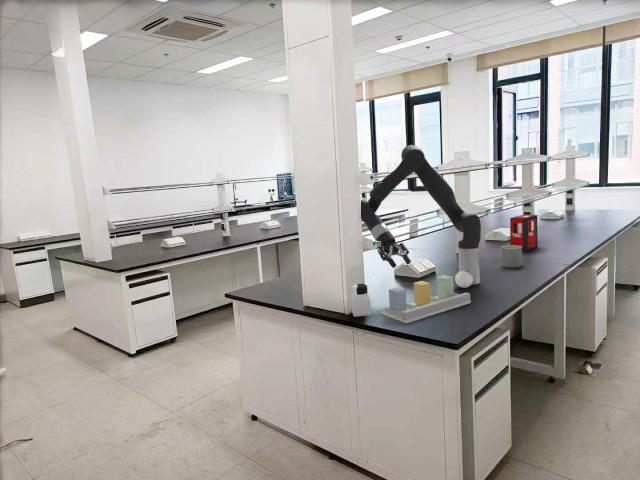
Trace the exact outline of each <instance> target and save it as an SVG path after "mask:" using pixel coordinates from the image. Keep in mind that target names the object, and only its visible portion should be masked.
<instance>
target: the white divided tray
mask: <svg viewBox="0 0 640 480" xmlns="http://www.w3.org/2000/svg"><path fill="white" fill-rule="evenodd" d="M406 303H407V310H406V311H402V312H400V311H397V310H394V309H391V308H390V307H387V306H385V307H384V311H382V312H381V313H382V315H383V316H385V317H387V318H391V319H393V320H395V321H399V322H401V323H404V324H408V323H411V322H416V321H418V320H421V319H424V318H427V317H431V316H435V315H436V314H437V315H438V314H440V313H443V312H446V311H449V310H452V309H456V308H459V307H462V306H465V305H469V304H471V303H472V301H471V293H469V292H464V293H463V292H462V293H460V294H459V293H456V292H454V296H453V297H449V298H446V299H441V298H438V297H437V295H436V296H432V295H431V303H429V304H426V305H423V306H419V305H416V304H414V302H412V303H410V302H407V301H406Z"/></svg>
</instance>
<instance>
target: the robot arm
mask: <svg viewBox="0 0 640 480" xmlns="http://www.w3.org/2000/svg"><path fill="white" fill-rule="evenodd" d="M400 158H401V162H400V163H399V165H398V166H397V167H395V169H394V170H393V171H392V172H390V173H389V174H387V175H386V176H385V177H384V178H382V179H383V180H382V179H381V180H382V181H381V180H379V182H382V183H379V182H378V183H377V184H376V185H375V186H374V187H373V188H372V189H371V190H370V191H369V199H368V200H364V199H361V219H362V220H361V219H360V220H361V221H362V222H363V223H364V224H365V225H366V228H367V229H368V230H369V232H370V233H371V236H372V237H373V239H374V240H375V241H376V240H377V241H381V244H380V245H381V246H379V247H380V248H379V247H378V248H377V253H378V255H379V257H380V258H381V261H383V262H388V264H389V265H390V266H391V268H393V269H395V268H396V267H397V264H396V262H395V261H394V259H393V256H397V257H401V258H402V259H403V261H404V262H405V264H406V265H410V264H411V262H412V261H411V260H412V259H410V258H409V255H408V254H410V251H409V249H408V248H407V246H406V245H405V244H404V243H403V242H400V243H399V244H398V243H397V242H396V238H395V236H394V235H393V234H392V232H391V230H390V229H389V228H388V226H387V225H385V223H384V222H383V220H382V219H381V217H380V216H379V215H378V214H376V213H377V211H378V209H379V208H380V206H381V204H382V202H383V201H385V199H386V198H388V196H389V195H390V194H391V193H392V192H393V190H394V189H396V188H397V186H399V185H400V184H401V183H402V182H403V181H404V180H406V179H407V178H408V177H409V176H410V175H411V174H413V173H414V174H415V175H416V177H417V178H419V180H420V182H421V183H422V186H423V187H424V189H425V190H426V191H427V193H428V194H429V195H430V196H431V198H432V199H433V201H434V202H436V205H438V206H439V207H440V208H441V210H442V211H443V212H444V213H445V214H446V215H447V217H448V219H449V220H450V222H451V223H452V225H453V226H454V228H455V229H456V231H459V232H461V233H462V239H461V240H458V243H457V247H458V248H457V251H458V254H457V255H458V272H461V271H466V272H468V273H469V274H470V275H471V276H472V277H473V282H472V284H471V285H470V286H474V285H478V284H480V282H481V279H480V277H481V276H480V275H481V274H480V247H479V246H480V242H481V237H482V236H481V235H482V234H481V233H482V232H481V231H482V225H481V224H482V221H481V219H480V217H479V216H478V215H477V214H474V213H468V212H465V211H464V210H463V209H462V207H461V206H460V205H459V203H457V201H456V200H457V199H456V195H455V192H454V190H453V188H452V187H451V186H450V184H449V183H448V182H447V181H446V180H445V178H444V177H443V176H442V175H441V174H440V173H439V172H438V171H437V170H436V169H434V168H433V167H432V165H430V163H429V162H428V160H427V158H426V156H425V153H424V152H423V151H422V148H420V147H418V146H417V145H414V144H412V145H411V144H409V145H407V146H405V147H404V148H403V149H402V150H401V157H400ZM382 246H383V247H382Z"/></svg>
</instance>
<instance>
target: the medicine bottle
mask: <svg viewBox="0 0 640 480" xmlns="http://www.w3.org/2000/svg"><path fill="white" fill-rule="evenodd" d="M351 290H352V294H351V295H350V302H351V312H352V315H353V317H355V318H356V317H364V316H365V317H366V316H372V305H371V301H372V300H371V298H370V295H369V294H368V285H367V284H365V283H357V284H354V285H352V289H351Z"/></svg>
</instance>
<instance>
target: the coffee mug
mask: <svg viewBox="0 0 640 480" xmlns="http://www.w3.org/2000/svg"><path fill="white" fill-rule="evenodd" d="M501 266H502V267H505V268H520V267H522V266H523V251H522V247H521V246H517V245H511V244H509V245H503V246H501Z"/></svg>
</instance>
